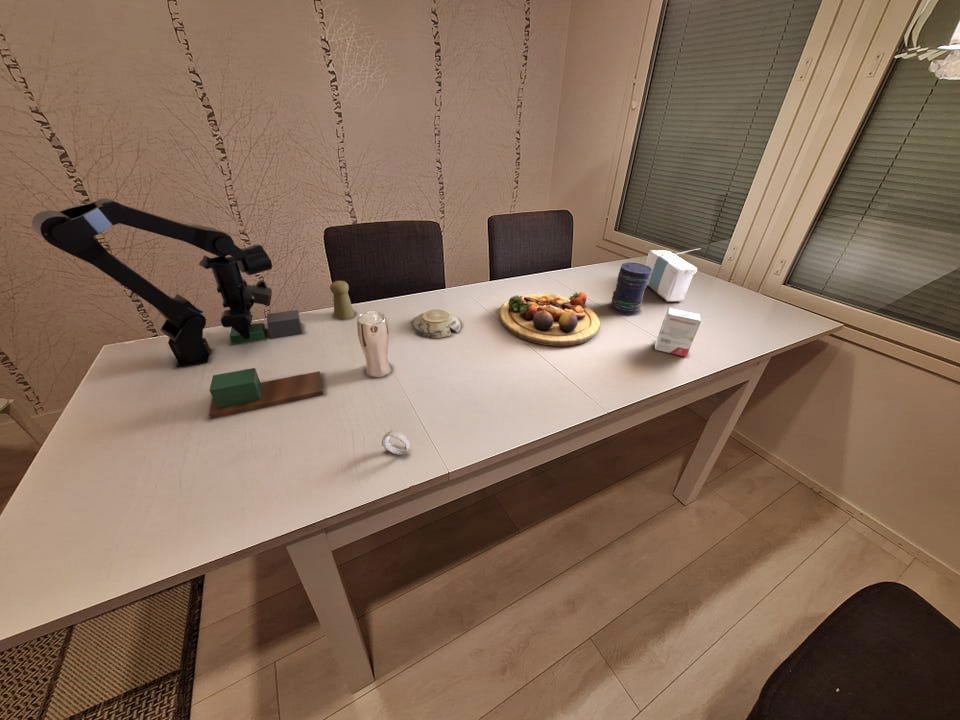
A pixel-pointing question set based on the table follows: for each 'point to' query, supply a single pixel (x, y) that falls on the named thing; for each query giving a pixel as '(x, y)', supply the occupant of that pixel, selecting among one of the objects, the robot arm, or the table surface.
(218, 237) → the robot arm
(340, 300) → the olive green pawn
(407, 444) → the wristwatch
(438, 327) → the decorative bowl
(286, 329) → the grey book
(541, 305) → the wooden plate
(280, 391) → the shelf board
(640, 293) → the storage jar
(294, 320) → the grey book
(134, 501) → the table surface
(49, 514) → the table surface
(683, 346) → the ink box
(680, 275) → the radio
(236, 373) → the green book
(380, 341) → the beer glass
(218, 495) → the table surface
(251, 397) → the green book
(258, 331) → the green rectangular block
